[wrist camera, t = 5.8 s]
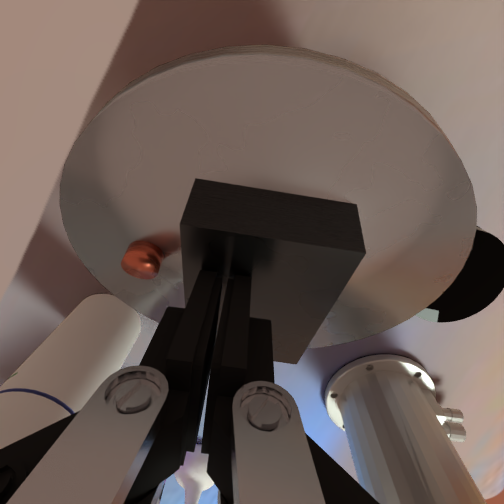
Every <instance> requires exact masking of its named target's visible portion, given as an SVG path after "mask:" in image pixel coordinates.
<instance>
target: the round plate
mask: <svg viewBox="0 0 504 504" xmlns="http://www.w3.org/2000/svg"><path fill="white" fill-rule="evenodd" d="M60 209H61V214H62V220H63V224H64V227H65V230H66V232H67V235H68V238H69V240H70V242H71V244H72V246H73V248H74V250H75V251H76V253H77V255H78V257H79V258H80V259H81V261H82V262H83V264H84V265H85V266H86V268H87V269H88V270H89V272H90V273H91V274H92V275H93V276H94V277H95V278H96V279H97V280H98V281H99V282H100V283H101V284H102V285H103V286H104V287H105V288H106V289H107V290H109V291H110V292H111V293H112V294H113V295H114V296H116V297H117V298H118V299H120V300H121V301H123V302H124V303H125V304H127V305H128V306H130V307H131V308H133V309H135V310H136V311H138V312H139V313H141V314H143V315H144V316H146V317H148V318H150V319H152V320H154V321H156V322H158V323H160V321H161V319H162V317H163V315H164V313H165V310H166V309H167V307H168V306H171V307H178V308H186V305H187V302H188V300H189V297H190V295H191V292H192V289H193V287H194V284H195V282H196V279H197V276H198V274H199V271H200V270H205V271H212V272H217V277H223V282H222V291H221V299H220V308H219V316H218V324H217V332H218V327H219V322H220V317H221V312H222V306H223V301H224V296H225V291H226V286H227V281H228V278H231V279H235V275H241V276H248V277H252V283H251V301H250V317H253V318H261V319H268V320H271V324H272V344H273V361H276V362H283V363H290V364H297V363H298V361H299V359H300V358H301V356H302V355H303V353H304V351H305V350H306V349H311V348H319V347H327V346H333V345H338V344H343V343H348V342H352V341H356V340H360V339H363V338H366V337H369V336H372V335H375V334H378V333H380V332H383V331H385V330H387V329H390V328H392V327H394V326H396V325H398V324H400V323H402V322H404V321H406V320H408V319H410V318H411V317H413V316H414V315H416V314H417V313H419V312H421V311H422V310H424V309H425V308H426V307H427V306H429V305H430V304H431V303H432V302H434V301H435V300H436V299H437V298H438V297H440V296H441V294H442V293H443V292H444V291H445V290H446V289H447V288H448V287H449V286H450V285H451V284H452V283H453V281H454V280H455V278H456V277H457V275H458V274H459V273H460V271H461V270H462V268H463V267H464V264H465V262H466V260H467V258H468V256H469V254H470V252H471V249H472V245H473V241H474V237H475V233H476V222H477V206H476V201H475V196H474V191H473V186H472V183H471V181H470V179H469V176H468V174H467V172H466V170H465V168H464V165H463V163H462V161H461V159H460V158H459V156H458V154H457V153H456V151H455V149H454V148H453V146H452V144H451V143H450V141H449V139H448V138H447V136H446V135H445V133H444V132H443V131H442V129H441V128H440V127H439V125H438V124H437V122H436V121H435V120H434V118H433V117H432V116H431V114H430V113H429V112H428V111H427V110H425V109H424V108H423V107H422V106H421V105H420V104H419V103H418V102H417V101H416V100H415V99H414V98H413V97H412V96H410V95H409V94H408V93H407V92H406V91H404V90H403V89H401V88H400V87H398V86H396V85H395V84H393V83H392V82H390V81H389V80H387V79H386V78H384V77H383V76H381V75H379V74H378V73H376V72H373V71H371V70H369V69H366V68H364V67H362V66H360V65H357V64H355V63H353V62H350V61H348V60H346V59H343V58H339V57H336V56H332V55H328V54H324V53H320V52H316V51H312V50H308V49H303V48H294V47H284V46H274V45H249V46H229V47H222V48H217V49H213V50H208V51H203V52H198V53H193V54H189V55H186V56H184V57H181V58H178V59H176V60H173V61H171V62H168V63H165V64H163V65H160V66H158V67H156V68H154V69H152V70H151V71H149V72H147V73H146V74H144V75H142V76H141V77H139V78H137V79H135V80H134V81H132V82H130V83H129V84H128V85H127V86H126V87H124V88H123V89H122V90H121V91H120V92H119V93H118V94H116V95H115V96H114V97H113V98H112V99H111V100H110V101H108V103H107V104H106V105H105V106H104V107H103V108H102V109H101V110H100V112H99V113H98V114H97V115H96V116H95V117H94V118H93V120H92V121H91V122H90V123H89V125H88V126H87V127H86V128H85V130H84V131H83V132H82V134H81V135H80V136H79V138H78V139H77V140H76V141H75V143H74V145H73V147H72V149H71V151H70V153H69V156H68V158H67V160H66V162H65V164H64V169H63V173H62V178H61V182H60ZM216 337H217V333H216ZM215 342H216V341H215Z"/></svg>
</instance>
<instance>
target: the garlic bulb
mask: <svg viewBox="0 0 504 504" xmlns="http://www.w3.org/2000/svg"><path fill="white" fill-rule="evenodd" d="M201 447H202V444H196V446H195V451H194V452H186V456H185V460H184V465H183V466H180V468H179V470H177V471H176V472H175V473H174V474H175V478H176V480H177V482H178V483H179V484H180V485H181V486H182V487H183V488H184V489H185V504H198V501H199V498H200V495H201V492H202V491H204V490H207V489H208V488H210V487H211V486H212V485H213V484H214V482H213V481H212V479H211V478H210V477H209V475H208V474H207V472H206V471H207V463H208V456H209V454H203V453H201Z"/></svg>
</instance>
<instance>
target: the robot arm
mask: <svg viewBox="0 0 504 504" xmlns="http://www.w3.org/2000/svg"><path fill="white" fill-rule="evenodd" d="M222 282H223V277H217V272H212V271H205V270H200V271H199V274H198V276H197V279H196V282H195V284H194V287H193V289H192V292H191V295H190V297H189V300H188V302H187V305H186V308H178V307H171V306H168V307H167V309H166V310H165V313H164V315H163V317H162V319H161V321H160V323H159V325H158V327H157V329H156V331H155V333H154V336H153V338H152V340H151V342H150V344H149V346H148V348H147V350H146V352H145V354H144V356H143V359H142V361H141V363H140V365H139V366H130V367H127V368H124V369H121V370H118V371H117V372H115V373H113V374H111V375H110V376H109V377H108V378H107V379H106V380H105V381H104V382H102V384H101V385H100V386H99V387H98V389H97V390H96V391H95V392H94V394H93V395H92V396H91V398H90V399H89V400H88V401H87V403H86V404H85V405H84V406H83V408H82V409H81V410H80V411H78V412H76V413H74V414H72V415H70V416H68V417H65V418H63V419H61V420H59V421H57V422H55V423H53V424H51V425H49V426H47V427H45V428H43V429H41V430H39V431H37V432H35V433H33V434H31V435H28V436H26V437H24V438H22V439H20V440H18V441H16V442H14V443H12V444H10V445H8V446H6V447H4V448H2V449H0V504H157V502H158V499H159V497H160V494H161V492H162V488H163V484H164V480H165V479H167V478H168V477H169V476H171V475H172V474H173V473H175V472H176V471H177V470H179V468H180V466H183V465H184V460H185V456H186V452H194V451H195V446H196V441H197V436H198V431H199V426H200V421H201V416H202V411H203V405H204V400H205V395H206V390H207V385H208V380H209V387H208V395H207V404H206V412H205V421H204V430H203V438H202V447H201V453H203V454H209V456H208V463H207V471H206V472H207V474H208V475H209V477H210V478H211V479H212V481H213V482H214V484H215V485H216V486H217V488H218V489H219V490H218V504H487V503H486V501H485V500H484V498H483V496H482V494H481V493H480V491H479V489H478V487H477V486H476V484H475V482H474V481H473V479H472V477H471V475H470V474H469V472H468V470H467V468H466V467H465V465H464V463H463V461H462V460H461V458H460V456H459V454H458V453H457V451H456V449H455V447H454V446H453V444H452V442H451V441H456V442H464V441H465V439H466V431H465V429H464V427H463V426H462V425H461V424H459V423H462V422H463V419H464V418H463V414H462V412H461V411H460V410H457V409H450V408H442V407H441V406H440V405H439V404H438V403H437V401H436V399H435V395H436V390H435V386H434V383H433V381H432V379H431V377H430V376H429V374H428V373H427V371H426V370H425V369H424V368H423V367H422V366H421V365H420V364H418V363H417V362H415V361H413V360H411V359H409V358H406V357H402V356H398V355H391V354H379V355H372V356H367V357H364V358H360V359H357V360H355V361H353V362H351V363H349V364H347V365H346V366H344V367H343V368H341V369H340V370H339V371H338V372H337V373H336V374H335V375H334V376H333V377H332V378H331V380H330V381H329V383H328V385H327V388H326V390H325V397H324V398H325V405H326V409H327V413H328V415H329V417H330V419H331V420H332V421H333V422H334V423H335V424H336V425H337V426H338V427H339V428H341V429H342V430H344V431H346V435H347V439H348V443H349V447H350V450H351V454H352V458H353V462H354V466H355V469H356V473H357V477H358V481H359V483H358V482H356V481H355V480H354V479H353V478H352V477H351V476H350V475H349V474H348V473H347V472H346V471H345V470H344V469H343V468H342V467H341V466H340V465H338V464H337V463H336V462H335V461H334V460H333V459H332V458H331V457H330V456H329V455H328V454H327V453H326V452H325V451H324V450H323V449H322V448H321V447H319V446H318V445H317V444H316V443H315V442H314V441H313V440H312V439H311V438H310V437H309V436H308V435H307V434H306V433H305V431H304V428H303V424H302V421H301V417H300V414H299V410H298V407H297V405H296V403H295V400H294V398H293V397H292V396H291V395H290V394H289V393H288V391H286V390H285V389H283V388H282V387H281V386H279V385H276V384H274V365H273V344H272V324H271V320H268V319H261V318H253V317H250V301H251V283H252V277H248V276H241V275H235V279H231V278H228V281H227V286H226V291H225V296H224V301H223V306H222V312H221V317H220V322H219V327H218V332H217V324H218V316H219V308H220V299H221V291H222ZM216 333H217V337H216ZM215 341H216V342H215ZM209 375H210V378H209ZM445 420H446V421H449V422H445ZM452 422H456V423H452Z"/></svg>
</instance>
